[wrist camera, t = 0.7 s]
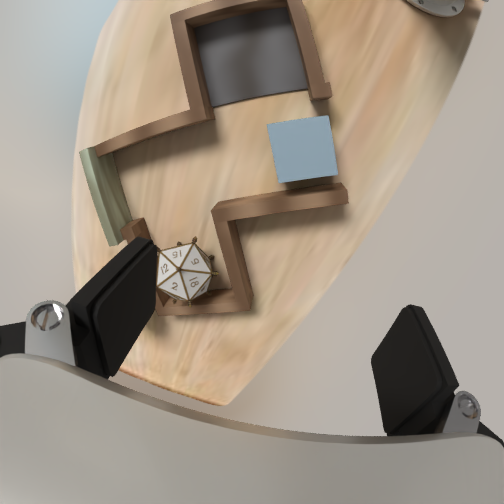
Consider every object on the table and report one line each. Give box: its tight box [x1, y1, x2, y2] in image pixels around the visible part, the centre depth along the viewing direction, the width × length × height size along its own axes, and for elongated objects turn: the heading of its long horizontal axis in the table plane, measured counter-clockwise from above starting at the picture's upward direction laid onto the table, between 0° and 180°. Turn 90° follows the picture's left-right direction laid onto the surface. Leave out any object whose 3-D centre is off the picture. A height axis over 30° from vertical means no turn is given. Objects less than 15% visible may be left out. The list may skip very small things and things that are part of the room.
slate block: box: [267, 115, 338, 183], centre depth 27 cm, size 6×6×5 cm
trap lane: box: [79, 0, 349, 316], centre depth 30 cm, size 30×38×5 cm
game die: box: [156, 236, 219, 308], centre depth 34 cm, size 9×8×10 cm
